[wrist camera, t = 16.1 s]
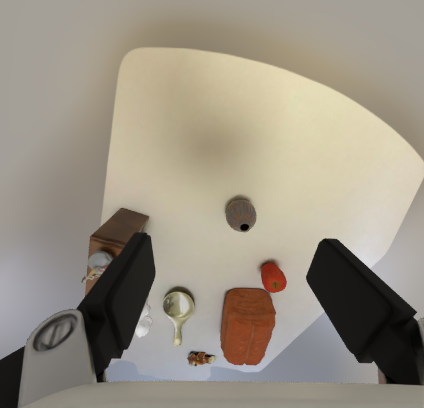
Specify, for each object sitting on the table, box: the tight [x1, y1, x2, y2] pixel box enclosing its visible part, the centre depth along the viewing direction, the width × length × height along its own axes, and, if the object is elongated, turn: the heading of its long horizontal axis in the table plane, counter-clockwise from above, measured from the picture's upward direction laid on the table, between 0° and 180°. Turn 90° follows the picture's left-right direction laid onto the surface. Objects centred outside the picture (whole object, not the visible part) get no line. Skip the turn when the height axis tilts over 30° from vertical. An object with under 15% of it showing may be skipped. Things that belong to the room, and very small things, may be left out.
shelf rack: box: [85, 208, 149, 296], centre depth 41 cm, size 7×18×12 cm, turn 159°
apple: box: [261, 263, 287, 293], centre depth 47 cm, size 6×6×8 cm
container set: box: [135, 297, 152, 337], centre depth 56 cm, size 20×5×6 cm, turn 177°
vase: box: [226, 199, 256, 232], centre depth 38 cm, size 7×7×9 cm
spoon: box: [162, 291, 194, 346], centre depth 61 cm, size 35×11×2 cm, turn 174°
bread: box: [220, 288, 276, 365], centre depth 55 cm, size 16×27×11 cm, turn 177°
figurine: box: [82, 250, 114, 282], centre depth 30 cm, size 5×4×6 cm
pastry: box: [188, 352, 216, 366], centre depth 71 cm, size 7×12×4 cm, turn 80°
